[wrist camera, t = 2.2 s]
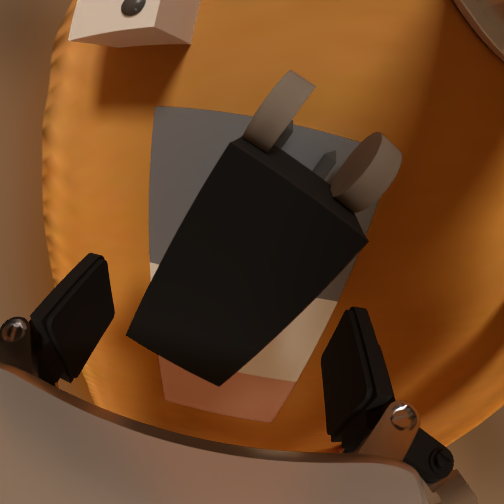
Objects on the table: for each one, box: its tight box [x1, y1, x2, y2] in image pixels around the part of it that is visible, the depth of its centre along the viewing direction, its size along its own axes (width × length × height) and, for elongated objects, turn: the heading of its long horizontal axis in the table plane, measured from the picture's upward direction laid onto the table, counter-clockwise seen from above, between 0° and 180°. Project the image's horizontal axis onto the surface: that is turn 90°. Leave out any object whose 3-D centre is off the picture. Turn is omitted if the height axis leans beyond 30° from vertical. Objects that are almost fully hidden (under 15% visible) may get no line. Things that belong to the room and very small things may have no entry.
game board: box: [149, 106, 379, 423], centre depth 22 cm, size 33×14×1 cm, turn 170°
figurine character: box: [126, 70, 402, 387], centre depth 14 cm, size 7×8×15 cm
